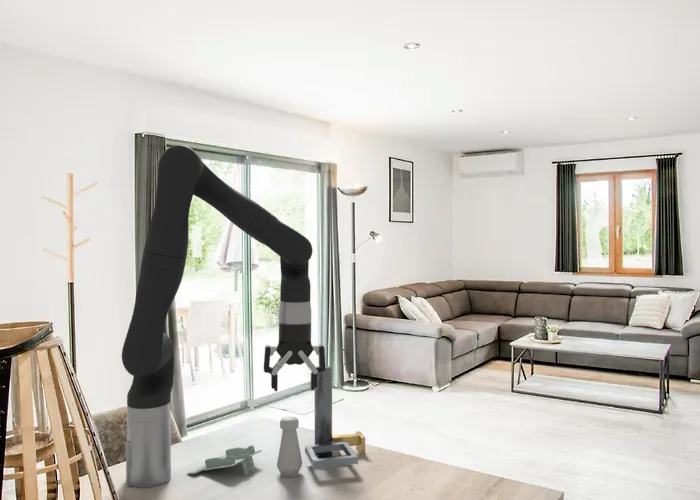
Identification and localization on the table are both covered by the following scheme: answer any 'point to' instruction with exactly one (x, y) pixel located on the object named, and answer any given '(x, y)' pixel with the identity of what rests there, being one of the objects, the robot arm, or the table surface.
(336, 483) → the table surface
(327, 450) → the square post stand
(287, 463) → the salt shaker
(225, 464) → the metal bracket
